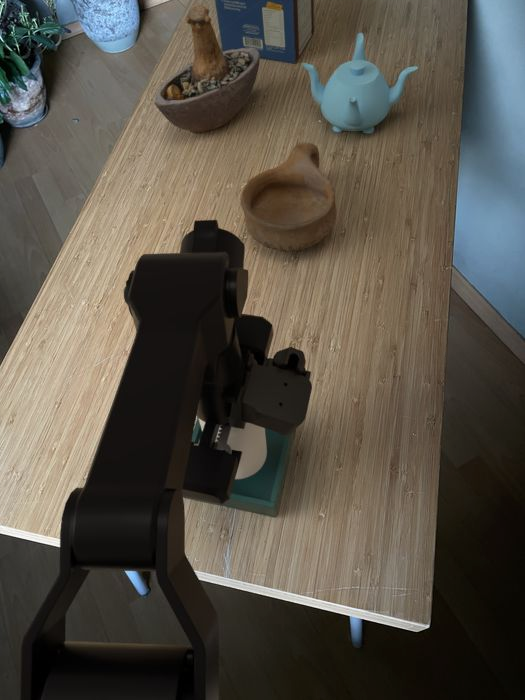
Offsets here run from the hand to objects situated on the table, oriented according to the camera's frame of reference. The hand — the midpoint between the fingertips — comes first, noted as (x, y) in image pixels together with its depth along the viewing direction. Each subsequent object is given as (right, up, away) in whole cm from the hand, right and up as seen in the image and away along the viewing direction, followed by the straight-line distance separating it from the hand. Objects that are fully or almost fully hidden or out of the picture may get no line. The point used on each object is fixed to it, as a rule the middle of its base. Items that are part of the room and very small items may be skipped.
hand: (232, 435), depth 63 cm
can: (+1, -3, +4) cm, 5 cm away
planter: (-5, +49, +40) cm, 64 cm away
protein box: (+4, +68, +51) cm, 85 cm away
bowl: (+8, +29, +27) cm, 40 cm away
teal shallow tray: (+1, -4, +7) cm, 9 cm away
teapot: (+19, +48, +37) cm, 64 cm away
